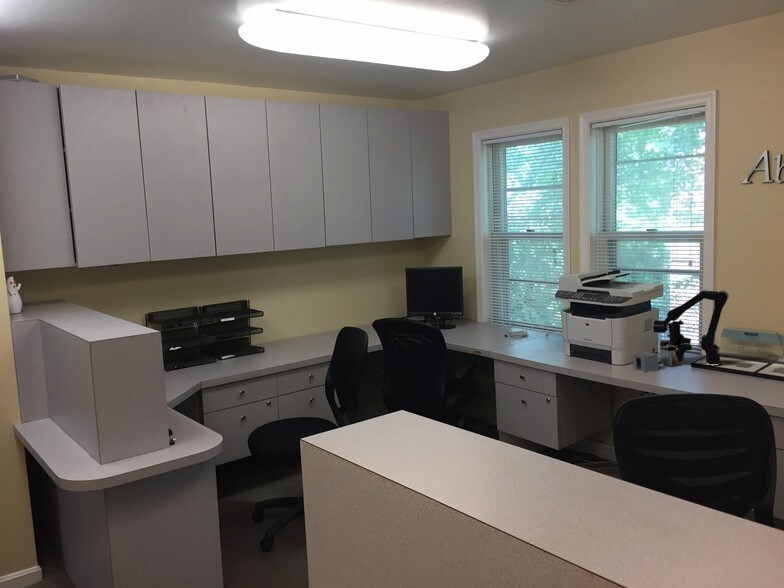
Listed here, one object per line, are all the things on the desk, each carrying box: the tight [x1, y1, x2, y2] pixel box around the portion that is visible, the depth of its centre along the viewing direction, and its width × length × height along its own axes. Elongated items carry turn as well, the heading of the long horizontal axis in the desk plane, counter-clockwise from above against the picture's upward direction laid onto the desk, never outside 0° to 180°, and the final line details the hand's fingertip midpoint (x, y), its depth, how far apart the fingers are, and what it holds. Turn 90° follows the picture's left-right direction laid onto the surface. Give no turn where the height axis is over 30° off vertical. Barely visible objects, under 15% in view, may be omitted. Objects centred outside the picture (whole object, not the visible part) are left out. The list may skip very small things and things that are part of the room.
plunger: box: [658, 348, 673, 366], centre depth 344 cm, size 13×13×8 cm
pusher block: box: [671, 349, 686, 367], centre depth 345 cm, size 5×6×7 cm
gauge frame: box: [632, 351, 663, 373], centre depth 343 cm, size 14×18×8 cm
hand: (676, 361), depth 345 cm, fingers closed on pusher block, 5 cm apart
